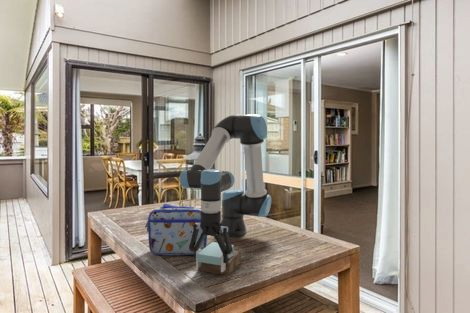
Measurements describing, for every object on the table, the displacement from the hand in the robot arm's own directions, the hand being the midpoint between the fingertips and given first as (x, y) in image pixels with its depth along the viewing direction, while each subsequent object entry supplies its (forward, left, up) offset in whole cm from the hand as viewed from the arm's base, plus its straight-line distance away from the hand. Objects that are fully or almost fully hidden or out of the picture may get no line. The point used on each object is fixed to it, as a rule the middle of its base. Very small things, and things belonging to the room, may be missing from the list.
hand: (210, 268), depth 123 cm
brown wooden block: (-9, 0, -3) cm, 9 cm away
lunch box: (-15, -24, -3) cm, 29 cm away
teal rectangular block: (-5, 0, +3) cm, 6 cm away
